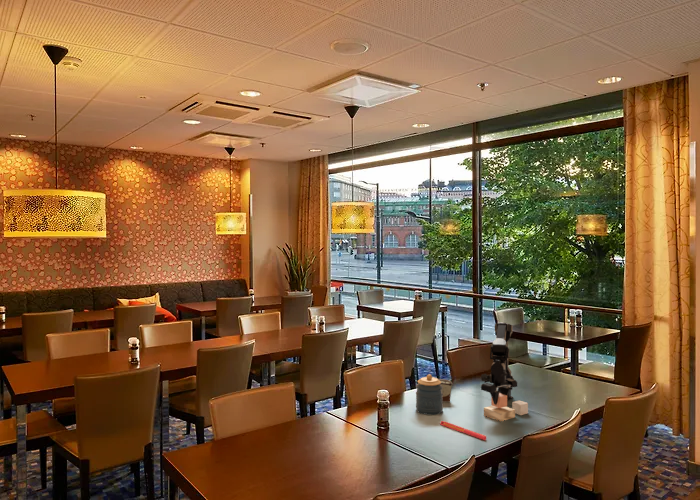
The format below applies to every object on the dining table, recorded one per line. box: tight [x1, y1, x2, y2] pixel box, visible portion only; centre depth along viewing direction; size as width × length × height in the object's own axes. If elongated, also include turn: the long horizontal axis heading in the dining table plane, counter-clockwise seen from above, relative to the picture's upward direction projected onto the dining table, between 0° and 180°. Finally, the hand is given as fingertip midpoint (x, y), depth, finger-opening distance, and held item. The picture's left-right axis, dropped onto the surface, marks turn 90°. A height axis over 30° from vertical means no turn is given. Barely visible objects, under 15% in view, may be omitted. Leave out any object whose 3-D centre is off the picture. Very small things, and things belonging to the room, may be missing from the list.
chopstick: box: [439, 420, 487, 441], centre depth 225 cm, size 24×2×5 cm
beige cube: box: [511, 399, 529, 416], centre depth 248 cm, size 5×5×5 cm
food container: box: [437, 378, 454, 403], centre depth 269 cm, size 12×6×10 cm, turn 84°
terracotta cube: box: [490, 393, 508, 408], centre depth 244 cm, size 5×5×5 cm
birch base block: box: [483, 405, 516, 422], centre depth 244 cm, size 10×10×4 cm
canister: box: [415, 373, 444, 416], centre depth 252 cm, size 13×13×18 cm
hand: (499, 403), depth 244 cm, fingers closed on terracotta cube, 5 cm apart
